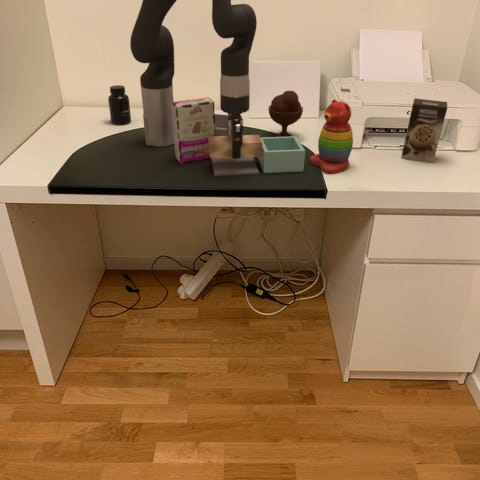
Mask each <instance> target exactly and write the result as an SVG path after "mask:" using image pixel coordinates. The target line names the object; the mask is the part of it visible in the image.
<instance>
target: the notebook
mask: <svg viewBox="0 0 480 480" xmlns="http://www.w3.org/2000/svg"><path fill="white" fill-rule="evenodd" d="M227 116H228V114H219V113H217V114H216V113H215V130H217V129H218V130H219V131H228V128H227Z"/></svg>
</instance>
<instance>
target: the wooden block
mask: <svg viewBox="0 0 480 480" xmlns="http://www.w3.org/2000/svg"><path fill="white" fill-rule="evenodd" d="M235 141H239V138H235ZM208 142H209V154H210V160H212V159H218V158H232V144H231V142H232V138H231V137H230V136H229V135H219V136H218V135H217V136H216V135H215V136H212V137H208ZM242 142H243V144H242V146H241V157H253V158H258V157H262V141H261V137H260V134H245V135H244V134H243V139H242ZM241 157H240V158H241Z"/></svg>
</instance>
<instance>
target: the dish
mask: <svg viewBox="0 0 480 480" xmlns="http://www.w3.org/2000/svg"><path fill="white" fill-rule="evenodd" d="M260 138H261V141H262V157H257V159H258V162H259V164H260V167H261V169H262V172H263V173H264V174H273V173H293V172H304V169H305V158H306V149H305V148H304V147H303V145H302V143H301V141H300V140H299V138H298V136H295V135H292V136H289V137H276V136H275V137H274V136H268V137H267V136H265V137H260Z"/></svg>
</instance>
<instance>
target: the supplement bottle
mask: <svg viewBox="0 0 480 480" xmlns="http://www.w3.org/2000/svg"><path fill="white" fill-rule="evenodd" d="M109 92H110V93H109V94H110V95H108V98H107V99H108V100H107V101H108V108H109V115H110V116H109V117H110V122H111V124H113V125H116V126H125V125H128V124H130V123H131V122H132V115H131V103H130V98H129V95H127V94H126V87H125V86H124V85H122V84H121V85H112V86H109Z"/></svg>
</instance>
